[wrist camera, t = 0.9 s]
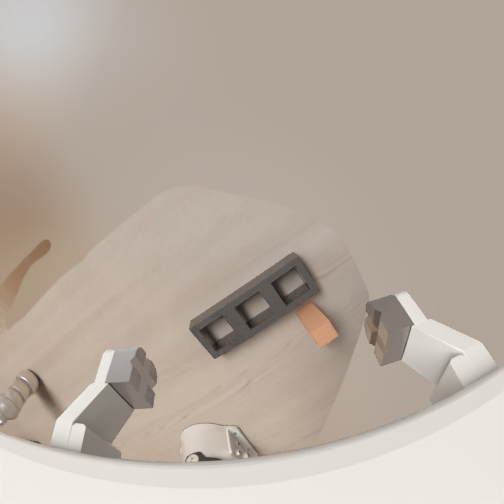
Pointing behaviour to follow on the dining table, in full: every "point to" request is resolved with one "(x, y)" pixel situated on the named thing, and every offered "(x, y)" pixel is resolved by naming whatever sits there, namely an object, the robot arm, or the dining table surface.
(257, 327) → the rail
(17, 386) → the plastic bottle
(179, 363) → the dining table surface
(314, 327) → the peg
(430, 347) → the robot arm
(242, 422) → the dining table surface
